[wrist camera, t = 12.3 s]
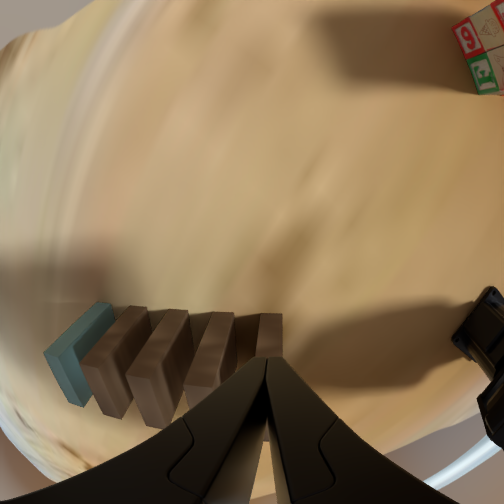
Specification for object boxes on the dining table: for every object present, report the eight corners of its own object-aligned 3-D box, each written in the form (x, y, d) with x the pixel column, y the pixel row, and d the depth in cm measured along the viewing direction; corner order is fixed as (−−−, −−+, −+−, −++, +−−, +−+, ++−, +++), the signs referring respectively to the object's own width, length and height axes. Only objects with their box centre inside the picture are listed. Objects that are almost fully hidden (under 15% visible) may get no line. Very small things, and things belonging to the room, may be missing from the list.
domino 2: (187, 310, 21) (149, 379, 14) (195, 359, 23) (167, 430, 15) (168, 308, 22) (125, 374, 14) (178, 357, 23) (146, 425, 16)
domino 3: (233, 312, 21) (212, 387, 14) (237, 362, 23) (221, 438, 15) (213, 311, 21) (183, 384, 14) (218, 361, 23) (196, 435, 15)
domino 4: (282, 313, 21) (282, 391, 13) (280, 364, 22) (278, 441, 15) (260, 313, 21) (250, 390, 13) (261, 363, 22) (252, 440, 15)
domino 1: (146, 307, 22) (98, 368, 14) (157, 355, 23) (121, 419, 16) (130, 305, 22) (78, 363, 14) (142, 353, 23) (103, 414, 16)
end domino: (110, 303, 22) (57, 357, 14) (124, 350, 24) (83, 407, 16) (96, 302, 22) (43, 352, 15) (110, 347, 24) (68, 402, 16)
